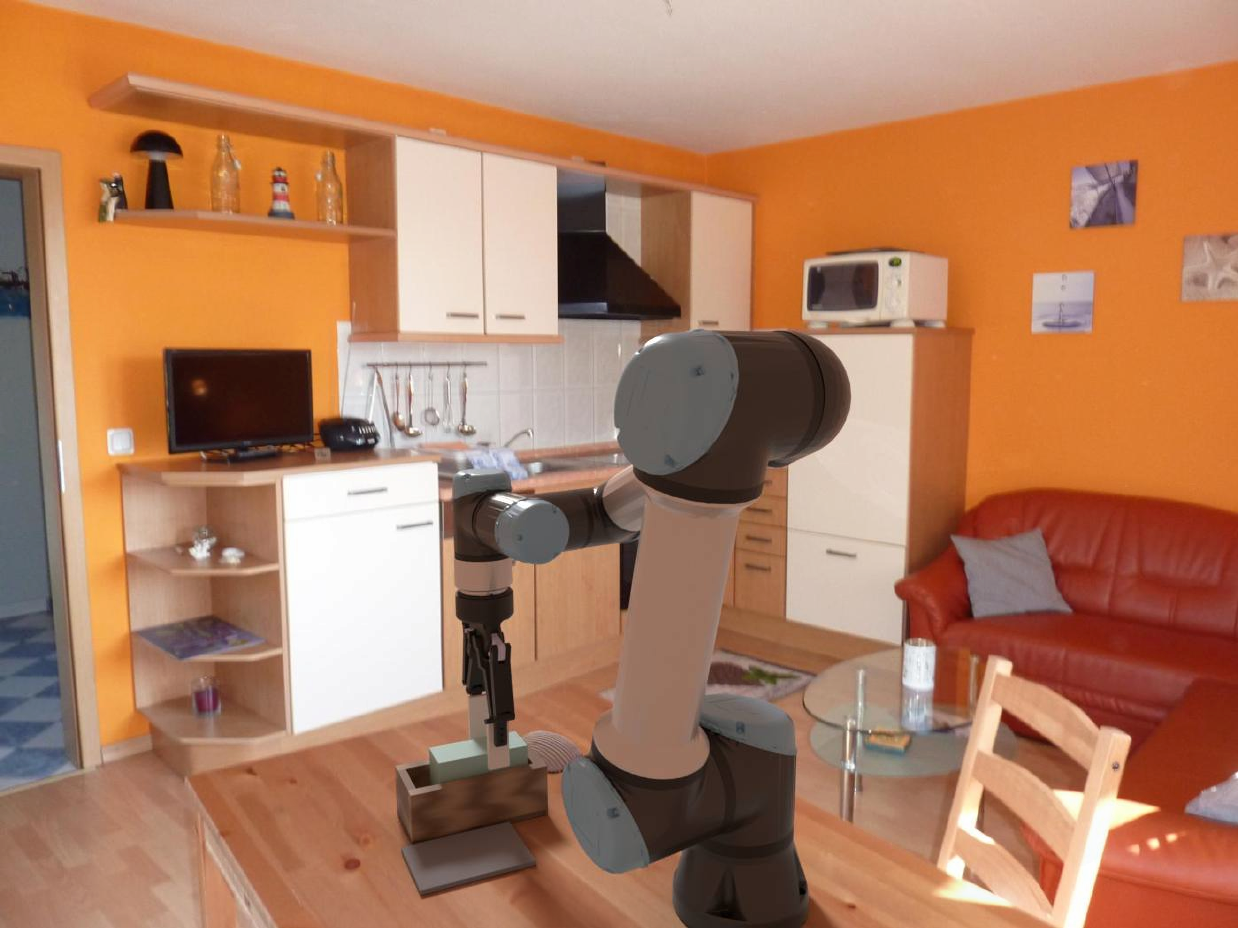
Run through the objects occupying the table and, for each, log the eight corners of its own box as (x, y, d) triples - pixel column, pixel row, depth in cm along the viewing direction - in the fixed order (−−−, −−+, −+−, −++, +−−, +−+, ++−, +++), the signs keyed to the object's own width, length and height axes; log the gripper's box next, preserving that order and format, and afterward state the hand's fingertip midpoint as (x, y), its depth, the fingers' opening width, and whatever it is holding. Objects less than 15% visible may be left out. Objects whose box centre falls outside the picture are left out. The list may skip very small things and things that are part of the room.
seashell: (513, 725, 144) (575, 711, 144) (521, 757, 145) (583, 743, 145) (506, 752, 134) (573, 737, 134) (515, 787, 135) (581, 772, 135)
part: (515, 765, 128) (515, 730, 127) (528, 780, 123) (527, 745, 122) (430, 783, 122) (428, 747, 122) (439, 800, 118) (438, 763, 117)
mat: (536, 864, 111) (535, 860, 111) (420, 895, 105) (420, 890, 105) (509, 825, 120) (509, 821, 120) (401, 851, 114) (401, 847, 114)
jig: (525, 784, 131) (524, 739, 130) (548, 814, 123) (547, 765, 122) (397, 813, 123) (395, 765, 122) (412, 846, 115) (410, 795, 114)
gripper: (539, 604, 112) (542, 780, 115) (487, 566, 131) (491, 719, 134) (479, 612, 109) (484, 793, 112) (435, 572, 127) (441, 729, 131)
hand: (488, 753), depth 123 cm, fingers open, 8 cm apart
